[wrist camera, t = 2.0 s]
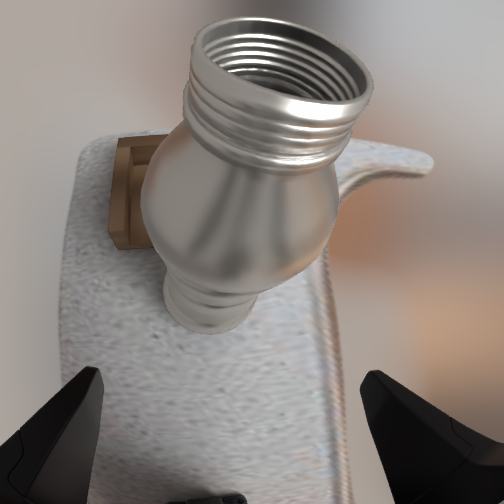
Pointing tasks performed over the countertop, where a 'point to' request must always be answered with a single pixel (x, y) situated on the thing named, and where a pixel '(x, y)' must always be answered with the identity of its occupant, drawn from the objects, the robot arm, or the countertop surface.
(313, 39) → the silver metal bottle
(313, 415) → the countertop surface
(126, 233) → the bottle stand
